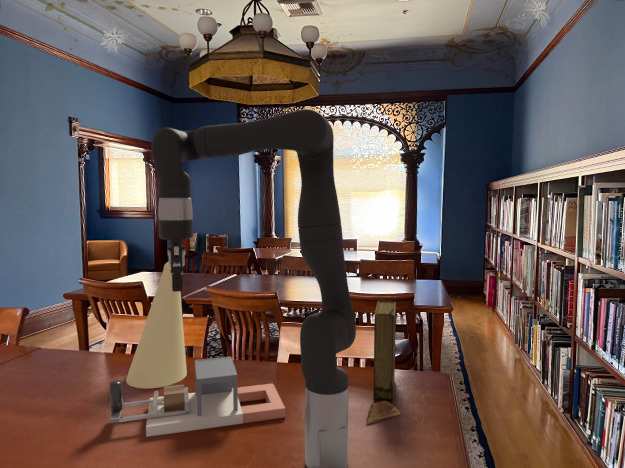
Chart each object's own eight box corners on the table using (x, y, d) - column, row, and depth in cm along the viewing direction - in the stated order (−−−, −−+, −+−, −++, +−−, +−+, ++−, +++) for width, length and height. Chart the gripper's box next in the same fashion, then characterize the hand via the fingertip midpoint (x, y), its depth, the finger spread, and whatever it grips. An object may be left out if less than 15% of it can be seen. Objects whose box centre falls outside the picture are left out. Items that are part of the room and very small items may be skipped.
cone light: (171, 390, 134) (168, 273, 131) (114, 386, 136) (109, 271, 133) (202, 360, 158) (200, 260, 155) (153, 357, 160) (150, 259, 157)
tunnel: (237, 410, 116) (237, 374, 115) (197, 416, 113) (196, 379, 112) (231, 388, 129) (231, 356, 128) (195, 393, 126) (194, 360, 125)
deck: (285, 417, 118) (285, 408, 117) (146, 436, 108) (145, 426, 108) (273, 391, 133) (272, 383, 133) (150, 406, 123) (149, 397, 123)
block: (184, 411, 116) (184, 392, 115) (164, 413, 114) (163, 394, 114) (184, 402, 120) (184, 384, 120) (164, 405, 119) (164, 386, 118)
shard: (366, 426, 114) (366, 419, 114) (350, 413, 121) (350, 406, 121) (400, 417, 119) (401, 410, 119) (383, 404, 126) (384, 398, 126)
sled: (188, 413, 114) (188, 381, 113) (108, 423, 109) (107, 390, 108) (188, 397, 122) (187, 368, 122) (113, 407, 117) (112, 376, 116)
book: (376, 378, 143) (378, 300, 141) (394, 379, 142) (395, 301, 140) (373, 401, 127) (374, 313, 125) (393, 403, 126) (394, 314, 124)
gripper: (193, 219, 98) (195, 293, 99) (191, 216, 112) (193, 281, 113) (157, 219, 96) (159, 295, 97) (159, 216, 109) (161, 282, 111)
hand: (177, 287), depth 105 cm, fingers open, 8 cm apart
